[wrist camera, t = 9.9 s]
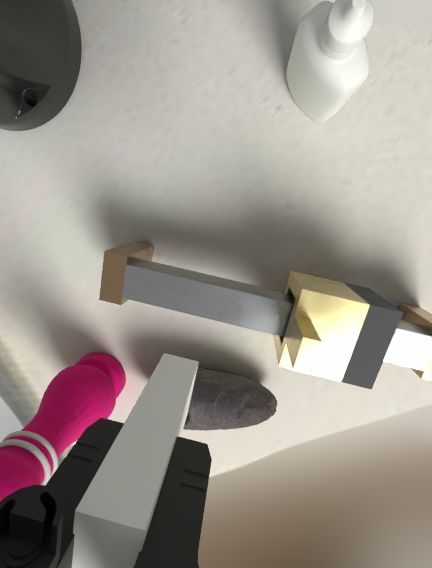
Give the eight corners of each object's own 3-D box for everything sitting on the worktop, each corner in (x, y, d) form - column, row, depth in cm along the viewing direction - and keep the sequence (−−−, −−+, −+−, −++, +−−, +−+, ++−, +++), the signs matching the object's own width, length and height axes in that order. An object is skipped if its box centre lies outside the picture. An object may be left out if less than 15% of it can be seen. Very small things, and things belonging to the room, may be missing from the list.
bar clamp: (130, 280, 33) (97, 300, 26) (135, 241, 32) (103, 251, 25) (403, 346, 31) (447, 386, 24) (420, 307, 30) (471, 338, 23)
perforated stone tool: (277, 369, 34) (284, 409, 27) (271, 408, 35) (276, 456, 28) (149, 352, 35) (125, 386, 28) (148, 390, 36) (125, 432, 30)
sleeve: (273, 332, 30) (284, 397, 20) (291, 270, 28) (313, 306, 18) (321, 344, 30) (358, 416, 20) (343, 282, 28) (395, 326, 18)
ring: (321, 344, 30) (341, 381, 23) (343, 282, 28) (370, 304, 22) (345, 350, 30) (371, 389, 23) (368, 288, 28) (403, 312, 21)
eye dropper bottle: (336, 49, 25) (407, -84, 14) (339, 120, 27) (406, 54, 15) (284, 60, 26) (310, -57, 14) (289, 130, 27) (318, 73, 16)
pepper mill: (87, 337, 35) (-109, 494, 16) (140, 368, 35) (8, 560, 16) (65, 381, 37) (-135, 568, 18) (114, 410, 37) (-30, 625, 18)
